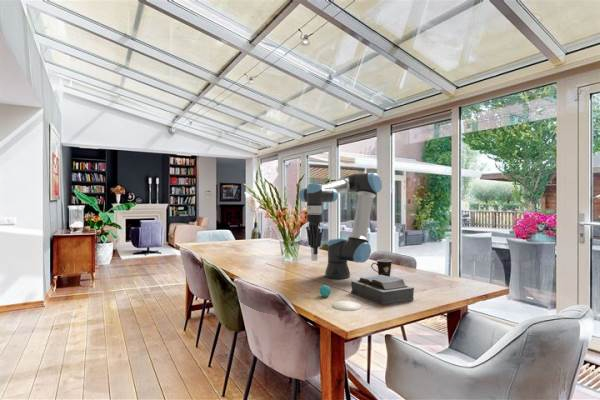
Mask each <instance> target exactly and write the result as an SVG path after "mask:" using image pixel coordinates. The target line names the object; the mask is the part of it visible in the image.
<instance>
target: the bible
mask: <svg viewBox="0 0 600 400" xmlns="http://www.w3.org/2000/svg"><path fill="white" fill-rule="evenodd" d="M350 282H351V291H350V293H351V294H352V295H353V294H354V295H356V296H358V297H362V298H363V299H365V300H368V301H372V302H373V303H375V304H377V305H381V306H389V305H394V304H395V303H396V304H399V303H405V302H412V301H414V299H415V298H414V293H415V291H414V290H415V287H413V286H410V285H407V284H405V280H404V279H403V278H399V277H397V276H390V277H389V276H384V275H379V274H378V275H375V276H368V277H367V276H366V277H365V276H364V277H360V278H359V279H358V280H351V281H350ZM396 304H395V305H396Z"/></svg>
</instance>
